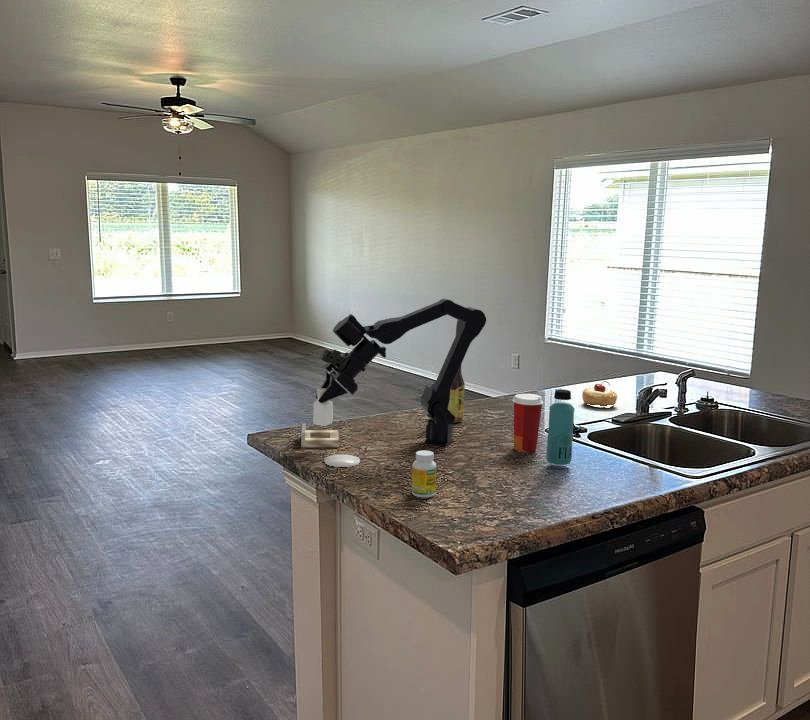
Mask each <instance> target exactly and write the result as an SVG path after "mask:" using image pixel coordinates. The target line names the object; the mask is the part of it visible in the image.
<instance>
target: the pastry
mask: <svg viewBox="0 0 810 720" xmlns="http://www.w3.org/2000/svg"><path fill="white" fill-rule="evenodd" d="M603 383H607V384H608V386H611V385H610V383H609V381H606V380H603V381H601V383H596V384H594V386H593V387H592V388H591V387H589V388H585V389H584V390H583V391H582V394H581V395H582V400H583V403H584V404H585V403H586V404H590V405H600V406H607V405H614V404H615V405H616V404H617V400H618V394H617V392H615V391H613V390H611V389H610V390H609V389H608V388H607V389H606V386H605V385H604V384H603ZM586 404H585V405H586ZM615 405H614V406H615Z"/></svg>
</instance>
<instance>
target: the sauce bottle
mask: <svg viewBox="0 0 810 720" xmlns="http://www.w3.org/2000/svg"><path fill="white" fill-rule="evenodd" d="M465 385H466V383H465V380H464V378H463V374H462V365H461V366H460V368H459V371H458V373H457V375H456V377H455V380H454V382H453V384H452V386H451V389H450V401H449V405H448V410H449V411H450V412H451V413H452V414H453V415H454V416H455V420H454V422H453V424H456V423H457V424H458V423H462V422H463V419H464V418H463V417H464V408H465V407H464V404H465V387H466V386H465Z"/></svg>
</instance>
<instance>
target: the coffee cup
mask: <svg viewBox="0 0 810 720" xmlns="http://www.w3.org/2000/svg"><path fill="white" fill-rule="evenodd" d="M511 401H512V402H513V449H515V450H517V451H516V452H518V451H520V452H519V453H522V452H533V453H535V452H536V451H537V447H538V446H537V445H538V438H539V432H540V423H541V416H542V406H543V404H544V401H543V398H542V396H541V395H538V394H535V393H534V394H531V393H518V394H515V396H513V399H512V400H511ZM515 450H514V451H515ZM534 451H535V452H534Z"/></svg>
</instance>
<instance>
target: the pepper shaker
mask: <svg viewBox="0 0 810 720" xmlns="http://www.w3.org/2000/svg"><path fill="white" fill-rule="evenodd" d="M320 388H321V387H320ZM320 388H317V390H316V391H317V392H316V395H317V397H318V399H316V400H315V401H314V402H313V411H312V412H313V413H312V414H313V417H312V418H313V419H312V420H313V425H316V426H320V427H327V426H329V425H331V424H333V421H334V420H333V418H334V417H333V414H334V410H333V409H334V405H333V404H334V402H333V401H331V400H328V401H326V402H323V403H320V402H319V401H318V400H319V398H320V397H321V395H322V394H323V393H324V391H325V390H326V388H321V389H320Z"/></svg>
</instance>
